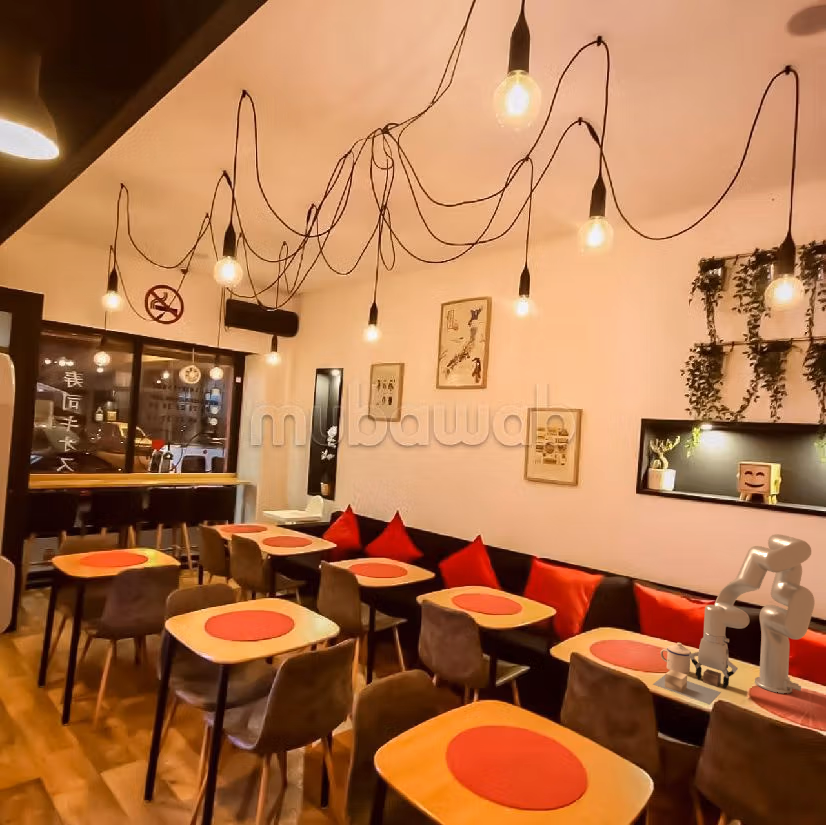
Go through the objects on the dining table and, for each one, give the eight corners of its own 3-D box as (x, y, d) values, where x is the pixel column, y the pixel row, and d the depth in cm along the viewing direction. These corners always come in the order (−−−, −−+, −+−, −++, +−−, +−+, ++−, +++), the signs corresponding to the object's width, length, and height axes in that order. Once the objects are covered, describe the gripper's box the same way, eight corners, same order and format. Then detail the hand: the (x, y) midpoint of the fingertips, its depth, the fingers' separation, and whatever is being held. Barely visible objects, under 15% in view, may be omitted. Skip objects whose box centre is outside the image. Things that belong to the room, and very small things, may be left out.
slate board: (721, 694, 213) (721, 692, 213) (709, 707, 202) (709, 704, 202) (666, 676, 226) (666, 673, 226) (652, 686, 215) (652, 684, 215)
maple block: (686, 688, 214) (687, 674, 214) (681, 692, 210) (682, 679, 210) (670, 682, 218) (670, 669, 218) (664, 686, 214) (665, 673, 214)
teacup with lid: (693, 673, 232) (695, 644, 232) (684, 678, 226) (686, 649, 226) (664, 662, 241) (666, 635, 241) (655, 667, 235) (656, 639, 235)
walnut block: (720, 686, 221) (721, 673, 221) (716, 689, 217) (717, 676, 217) (706, 681, 224) (707, 669, 224) (702, 685, 221) (703, 672, 221)
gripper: (741, 642, 218) (739, 687, 218) (693, 629, 230) (691, 672, 229) (736, 647, 213) (733, 693, 212) (687, 633, 225) (685, 677, 224)
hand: (711, 682), depth 221 cm, fingers open, 9 cm apart
